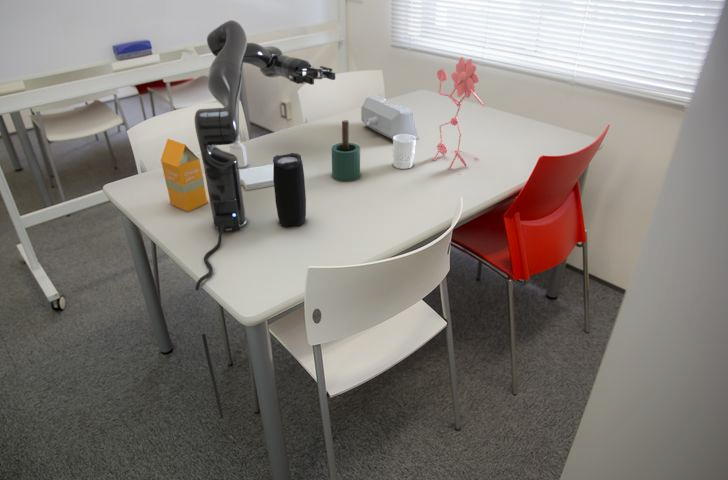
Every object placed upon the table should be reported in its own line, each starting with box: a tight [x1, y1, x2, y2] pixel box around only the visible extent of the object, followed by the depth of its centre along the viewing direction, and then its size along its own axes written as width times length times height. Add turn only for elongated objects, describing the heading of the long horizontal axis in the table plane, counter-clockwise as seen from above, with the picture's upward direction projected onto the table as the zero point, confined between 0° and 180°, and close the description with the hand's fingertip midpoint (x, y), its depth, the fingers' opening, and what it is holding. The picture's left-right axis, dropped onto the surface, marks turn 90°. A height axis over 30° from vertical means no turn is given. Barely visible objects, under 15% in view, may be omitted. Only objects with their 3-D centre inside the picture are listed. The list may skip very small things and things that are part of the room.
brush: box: [341, 119, 350, 151], centre depth 169 cm, size 4×4×18 cm
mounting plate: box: [239, 163, 274, 191], centre depth 172 cm, size 18×13×2 cm
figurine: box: [433, 56, 486, 176], centre depth 173 cm, size 15×26×35 cm, turn 26°
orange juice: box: [160, 138, 208, 212], centre depth 153 cm, size 8×9×20 cm
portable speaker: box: [272, 152, 307, 228], centre depth 142 cm, size 9×9×20 cm
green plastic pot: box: [331, 142, 361, 182], centre depth 171 cm, size 9×9×10 cm
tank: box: [360, 94, 419, 141], centre depth 204 cm, size 25×16×12 cm, turn 29°
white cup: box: [392, 134, 417, 170], centre depth 177 cm, size 8×8×10 cm
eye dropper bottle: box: [229, 136, 248, 169], centre depth 180 cm, size 4×6×12 cm
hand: (323, 78), depth 165 cm, fingers open, 8 cm apart
